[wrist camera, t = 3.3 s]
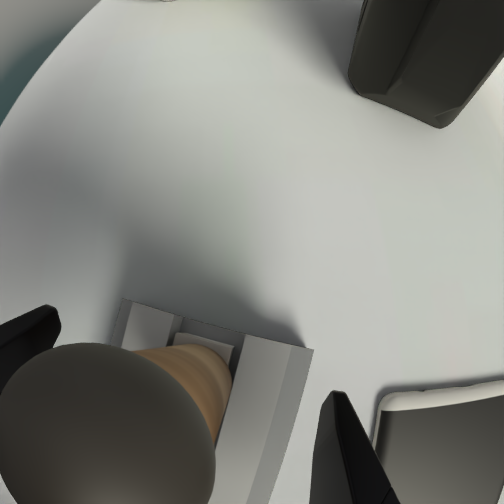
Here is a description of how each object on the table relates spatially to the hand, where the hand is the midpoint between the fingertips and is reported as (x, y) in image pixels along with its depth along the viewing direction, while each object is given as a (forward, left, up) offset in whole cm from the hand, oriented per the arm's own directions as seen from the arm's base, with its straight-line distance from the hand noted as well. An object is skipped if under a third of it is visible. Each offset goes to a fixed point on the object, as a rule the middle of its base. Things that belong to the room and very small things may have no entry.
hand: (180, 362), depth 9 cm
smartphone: (-22, -6, -9) cm, 25 cm away
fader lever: (-1, +1, -6) cm, 6 cm away
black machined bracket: (+15, -24, -9) cm, 29 cm away
